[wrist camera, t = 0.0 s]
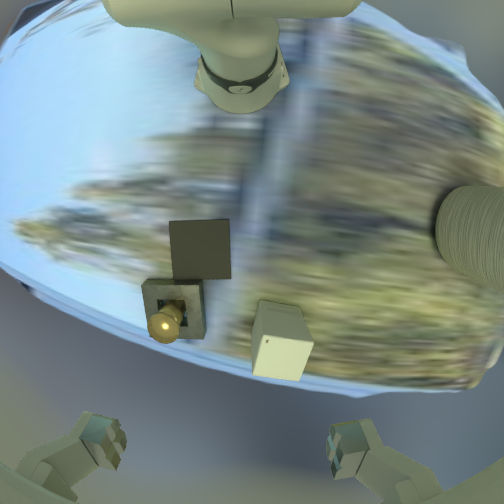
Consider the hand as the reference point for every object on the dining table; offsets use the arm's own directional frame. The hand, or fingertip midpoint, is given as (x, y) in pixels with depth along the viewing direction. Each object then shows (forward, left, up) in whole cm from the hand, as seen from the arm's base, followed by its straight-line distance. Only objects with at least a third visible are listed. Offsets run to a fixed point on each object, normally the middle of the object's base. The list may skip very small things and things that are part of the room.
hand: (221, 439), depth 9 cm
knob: (+15, -15, -48) cm, 53 cm away
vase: (-2, +51, -48) cm, 70 cm away
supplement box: (+19, +6, -48) cm, 52 cm away
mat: (+3, -9, -48) cm, 49 cm away
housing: (+15, -15, -48) cm, 53 cm away
